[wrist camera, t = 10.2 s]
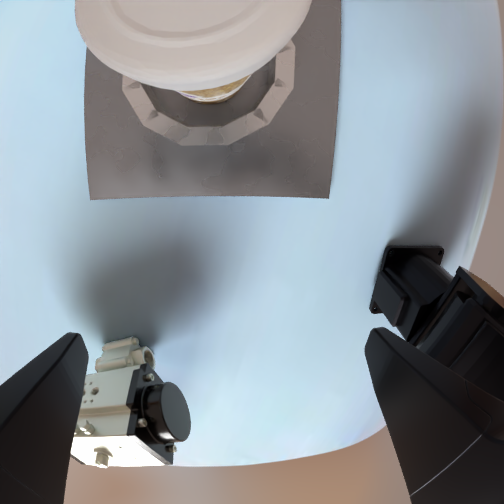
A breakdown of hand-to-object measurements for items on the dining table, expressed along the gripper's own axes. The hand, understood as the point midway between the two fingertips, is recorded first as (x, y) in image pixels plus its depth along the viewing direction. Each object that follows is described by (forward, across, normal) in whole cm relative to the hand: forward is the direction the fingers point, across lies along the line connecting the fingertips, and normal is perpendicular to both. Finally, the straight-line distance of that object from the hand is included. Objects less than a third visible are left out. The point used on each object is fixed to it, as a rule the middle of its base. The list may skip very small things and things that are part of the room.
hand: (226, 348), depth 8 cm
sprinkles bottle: (+12, +1, -9) cm, 15 cm away
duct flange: (+13, +1, -9) cm, 16 cm away
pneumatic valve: (+13, +9, +13) cm, 21 cm away
